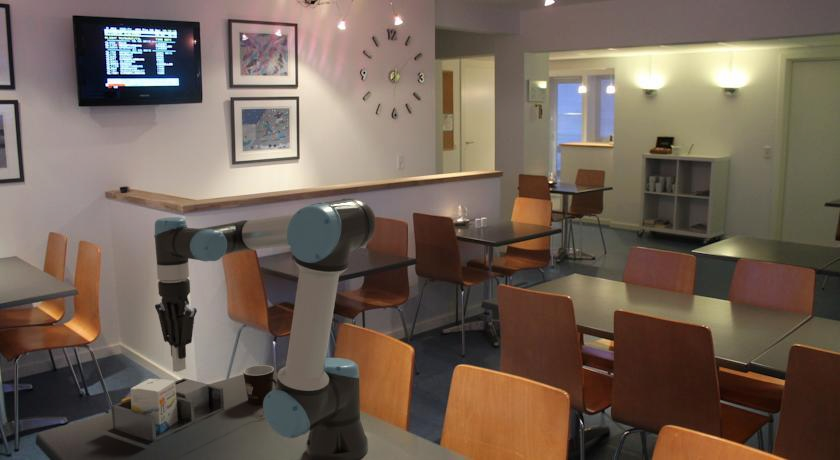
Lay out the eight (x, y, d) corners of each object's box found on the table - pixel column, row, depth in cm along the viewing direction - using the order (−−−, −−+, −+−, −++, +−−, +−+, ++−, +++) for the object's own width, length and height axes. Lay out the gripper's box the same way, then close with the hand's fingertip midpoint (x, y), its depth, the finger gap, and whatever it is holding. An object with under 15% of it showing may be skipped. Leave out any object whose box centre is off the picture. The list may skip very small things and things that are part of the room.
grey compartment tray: (224, 412, 206) (222, 386, 205) (153, 444, 186) (151, 416, 185) (184, 400, 215) (183, 376, 214) (112, 431, 195) (110, 403, 194)
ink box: (160, 434, 190) (157, 391, 189) (132, 431, 193) (128, 388, 191) (179, 421, 199) (176, 379, 197) (151, 418, 201) (148, 377, 199)
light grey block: (209, 408, 207) (207, 384, 206) (186, 418, 200) (185, 394, 199) (189, 403, 211) (188, 379, 210) (167, 412, 204) (165, 388, 203)
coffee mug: (242, 400, 215) (240, 367, 213) (271, 395, 218) (269, 363, 217) (250, 415, 204) (248, 380, 203) (281, 409, 208) (279, 375, 206)
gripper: (203, 279, 183) (208, 369, 187) (168, 273, 190) (174, 361, 194) (179, 285, 177) (185, 378, 181) (143, 279, 184) (150, 369, 188)
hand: (179, 369), depth 187 cm, fingers closed
